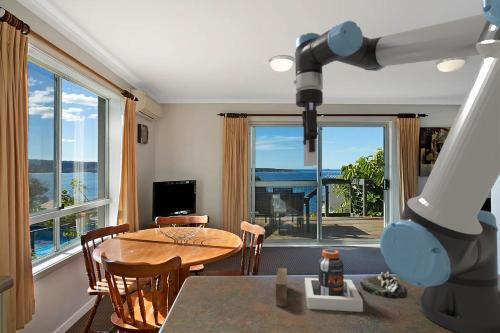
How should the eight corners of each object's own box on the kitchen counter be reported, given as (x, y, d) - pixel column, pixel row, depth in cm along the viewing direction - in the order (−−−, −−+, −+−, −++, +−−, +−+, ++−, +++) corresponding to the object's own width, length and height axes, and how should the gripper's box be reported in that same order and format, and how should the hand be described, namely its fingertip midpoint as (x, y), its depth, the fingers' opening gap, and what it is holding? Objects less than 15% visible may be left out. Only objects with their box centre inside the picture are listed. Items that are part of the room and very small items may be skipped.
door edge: (286, 286, 75) (286, 268, 75) (286, 306, 64) (286, 284, 64) (278, 286, 76) (277, 267, 76) (276, 305, 65) (275, 284, 65)
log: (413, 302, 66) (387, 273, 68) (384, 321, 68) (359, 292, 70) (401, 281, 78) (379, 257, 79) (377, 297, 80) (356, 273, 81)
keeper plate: (351, 289, 73) (351, 279, 73) (363, 311, 61) (362, 300, 61) (304, 287, 75) (304, 277, 75) (307, 308, 63) (307, 297, 63)
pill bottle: (329, 304, 65) (328, 255, 65) (313, 294, 70) (313, 249, 70) (349, 299, 67) (348, 252, 67) (332, 290, 72) (331, 246, 73)
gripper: (294, 102, 92) (295, 166, 92) (296, 77, 68) (297, 164, 67) (318, 101, 91) (318, 166, 91) (328, 75, 67) (329, 164, 66)
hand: (309, 165), depth 79 cm, fingers open, 13 cm apart
